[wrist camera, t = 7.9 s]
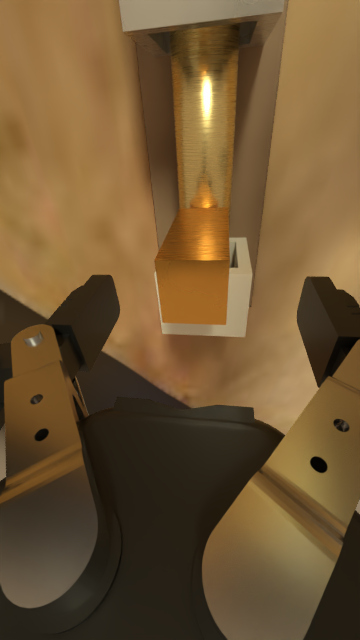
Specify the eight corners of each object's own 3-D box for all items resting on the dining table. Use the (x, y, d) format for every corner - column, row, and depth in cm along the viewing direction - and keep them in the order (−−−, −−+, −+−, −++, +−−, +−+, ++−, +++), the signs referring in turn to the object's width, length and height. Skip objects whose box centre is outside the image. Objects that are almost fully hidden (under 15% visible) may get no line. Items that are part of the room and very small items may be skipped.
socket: (246, 237, 21) (252, 274, 16) (241, 292, 24) (245, 337, 19) (169, 238, 21) (154, 273, 17) (174, 291, 24) (162, 333, 20)
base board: (339, -455, 8) (351, -514, 7) (250, 300, 25) (251, 306, 24) (96, -369, 9) (84, -413, 9) (167, 299, 26) (165, 304, 26)
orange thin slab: (243, -55, 12) (283, -430, 4) (225, 286, 22) (226, 385, 14) (170, -43, 12) (63, -353, 4) (187, 285, 22) (166, 381, 14)
